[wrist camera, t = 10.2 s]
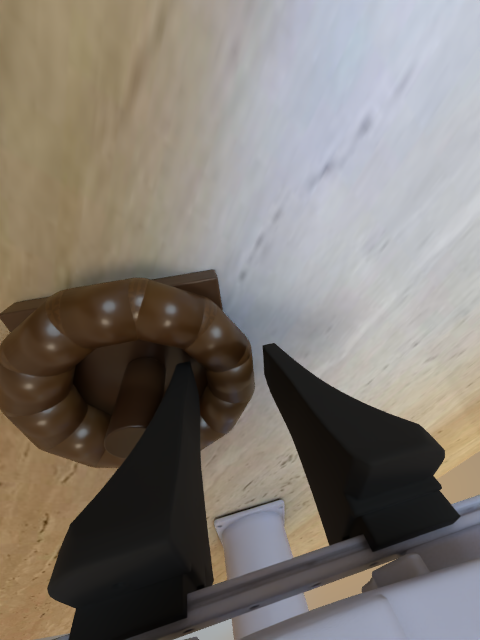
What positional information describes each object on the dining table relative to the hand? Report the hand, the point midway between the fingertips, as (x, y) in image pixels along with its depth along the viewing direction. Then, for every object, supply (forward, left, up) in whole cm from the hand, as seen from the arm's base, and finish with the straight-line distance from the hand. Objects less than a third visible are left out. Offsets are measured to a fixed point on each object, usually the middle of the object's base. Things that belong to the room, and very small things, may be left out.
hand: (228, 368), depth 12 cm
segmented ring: (0, +4, 0) cm, 4 cm away
